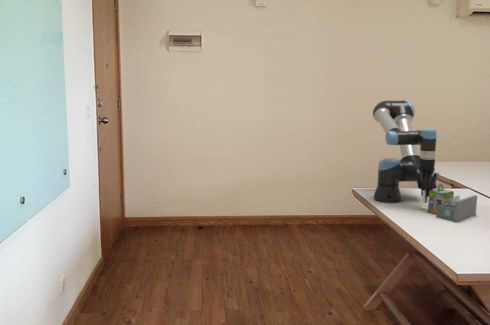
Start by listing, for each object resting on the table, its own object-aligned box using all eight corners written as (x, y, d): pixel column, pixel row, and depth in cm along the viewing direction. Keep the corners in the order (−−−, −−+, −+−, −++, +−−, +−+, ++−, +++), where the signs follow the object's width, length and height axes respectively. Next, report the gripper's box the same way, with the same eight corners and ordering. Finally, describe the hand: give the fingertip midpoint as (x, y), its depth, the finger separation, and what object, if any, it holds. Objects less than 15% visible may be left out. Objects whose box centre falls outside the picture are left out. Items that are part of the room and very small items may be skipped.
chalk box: (444, 216, 231) (446, 187, 229) (427, 212, 238) (428, 184, 236) (453, 212, 237) (455, 184, 234) (436, 209, 244) (438, 181, 241)
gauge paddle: (440, 216, 228) (441, 200, 226) (456, 210, 237) (457, 195, 236) (443, 216, 227) (444, 200, 225) (458, 210, 236) (459, 195, 235)
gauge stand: (435, 217, 229) (437, 197, 228) (455, 210, 241) (456, 191, 240) (456, 222, 221) (458, 202, 219) (476, 214, 233) (477, 195, 231)
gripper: (412, 157, 242) (409, 201, 246) (435, 160, 232) (432, 206, 236) (419, 156, 247) (417, 199, 251) (443, 159, 237) (440, 203, 241)
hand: (424, 202), depth 243 cm, fingers closed
